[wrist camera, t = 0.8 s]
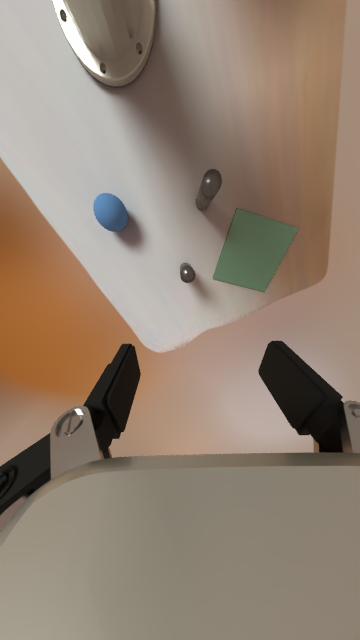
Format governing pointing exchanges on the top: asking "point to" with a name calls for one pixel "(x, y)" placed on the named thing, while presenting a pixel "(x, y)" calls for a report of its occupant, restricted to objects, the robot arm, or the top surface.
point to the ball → (110, 212)
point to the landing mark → (253, 250)
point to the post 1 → (187, 273)
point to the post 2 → (208, 188)
